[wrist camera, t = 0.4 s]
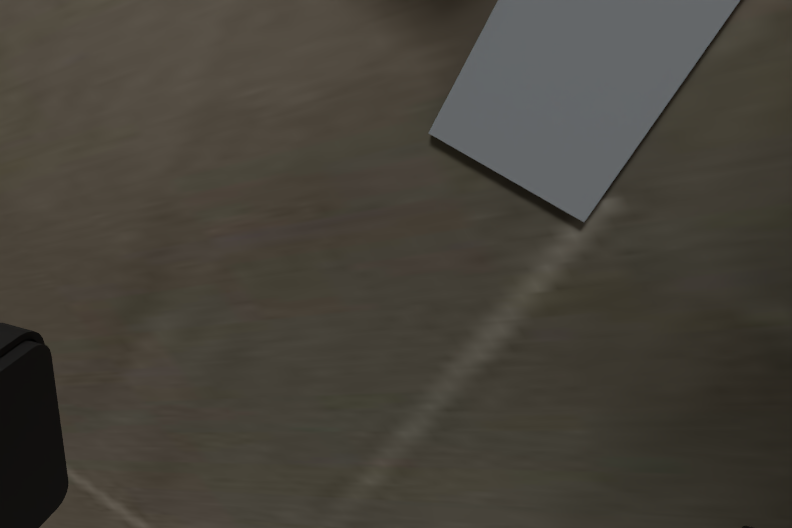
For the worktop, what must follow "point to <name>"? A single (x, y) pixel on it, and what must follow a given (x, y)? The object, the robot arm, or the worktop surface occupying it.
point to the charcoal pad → (572, 88)
